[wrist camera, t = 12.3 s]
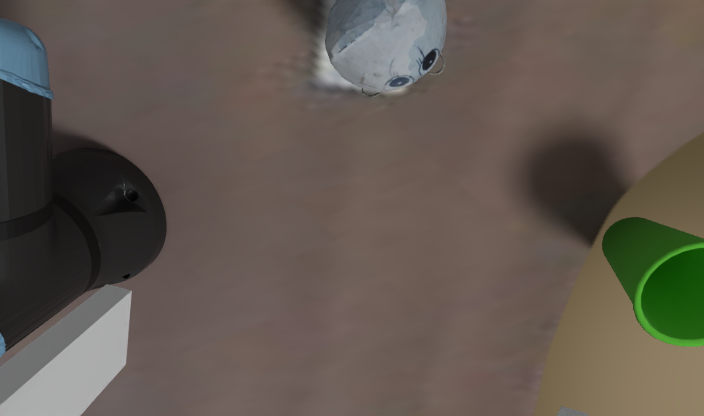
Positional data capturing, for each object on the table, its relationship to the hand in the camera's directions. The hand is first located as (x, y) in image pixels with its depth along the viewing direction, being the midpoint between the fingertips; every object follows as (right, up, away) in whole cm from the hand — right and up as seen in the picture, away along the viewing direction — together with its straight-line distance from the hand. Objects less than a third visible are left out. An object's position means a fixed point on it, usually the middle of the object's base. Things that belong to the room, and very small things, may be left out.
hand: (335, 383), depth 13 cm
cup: (+28, +2, +30) cm, 41 cm away
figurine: (+4, +21, +27) cm, 34 cm away
